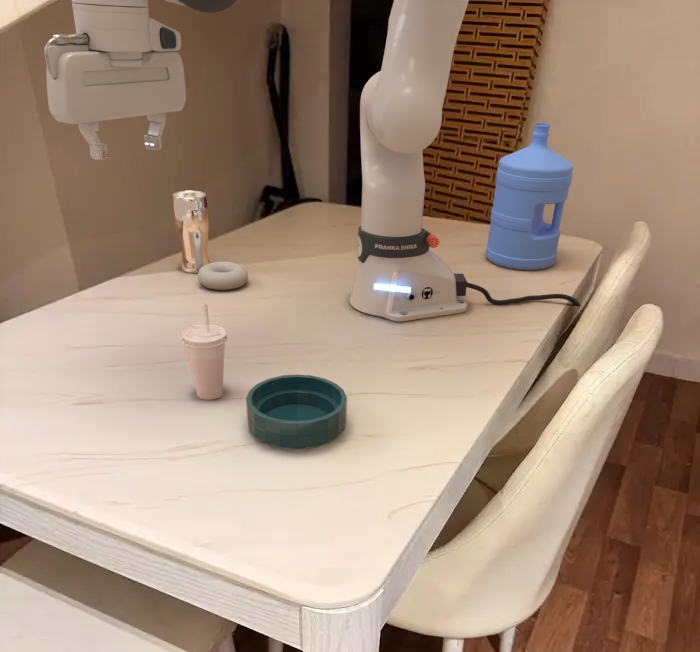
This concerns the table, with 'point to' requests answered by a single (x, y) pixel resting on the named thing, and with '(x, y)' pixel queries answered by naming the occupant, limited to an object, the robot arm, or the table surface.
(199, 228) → the beer glass
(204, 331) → the smoothie
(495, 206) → the water jug
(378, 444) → the table surface
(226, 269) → the donut
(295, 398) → the bowl
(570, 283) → the table surface
